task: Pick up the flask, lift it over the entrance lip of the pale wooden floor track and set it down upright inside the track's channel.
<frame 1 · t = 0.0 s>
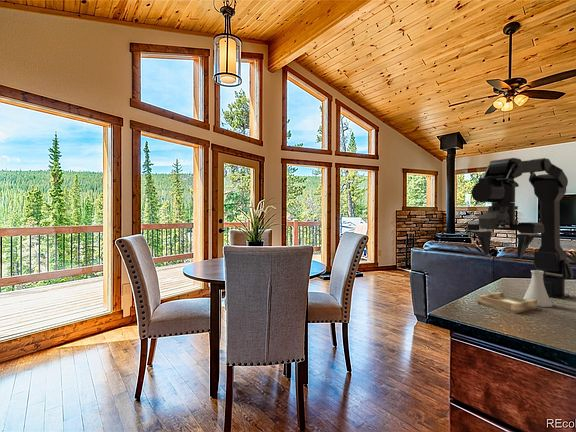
hand: (502, 256, 96), 15 cm above the countertop, tool pointing down, fingers open, 9 cm apart
track: (506, 305, 98), on the countertop
flask: (536, 305, 100), on the countertop
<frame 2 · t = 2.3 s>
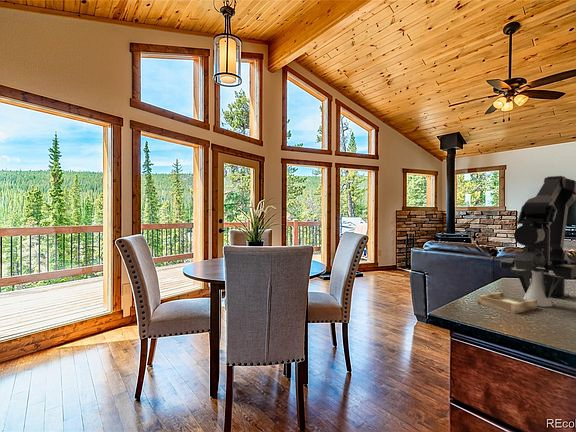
hand: (537, 295, 100), 3 cm above the countertop, tool pointing down, fingers closed on flask, 5 cm apart
flask: (536, 304, 100), on the countertop, touching gripper
when the fingers open (5 cm above the countertop, at t = 6.0 s): flask drops 1 cm, resting on track.
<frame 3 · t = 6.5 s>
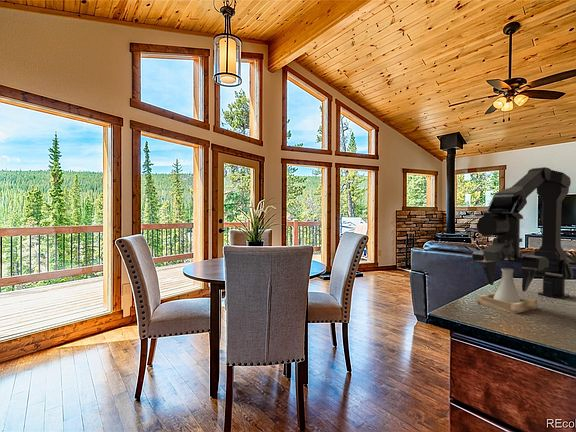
hand: (507, 287, 98), 5 cm above the countertop, tool pointing down, fingers open, 9 cm apart
flask: (507, 303, 98), point 1 cm above the countertop, touching track
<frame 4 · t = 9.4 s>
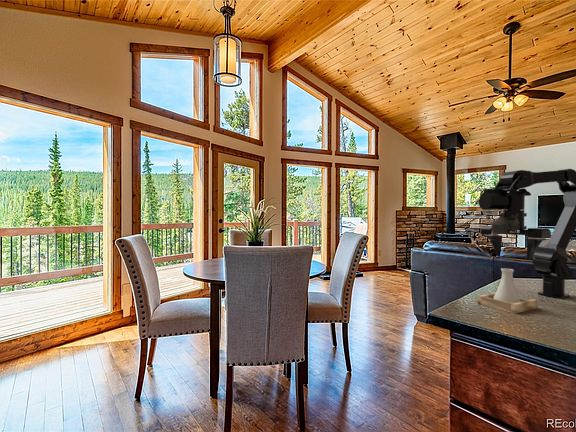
hand: (513, 258, 107), 13 cm above the countertop, tool pointing down, fingers open, 9 cm apart
nothing on the countertop moved.
at the end: flask inside the target area on the track (0.2 cm from its centre), point 0.6 cm above the track's base; flask tilted 0°; the gripper is holding nothing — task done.
